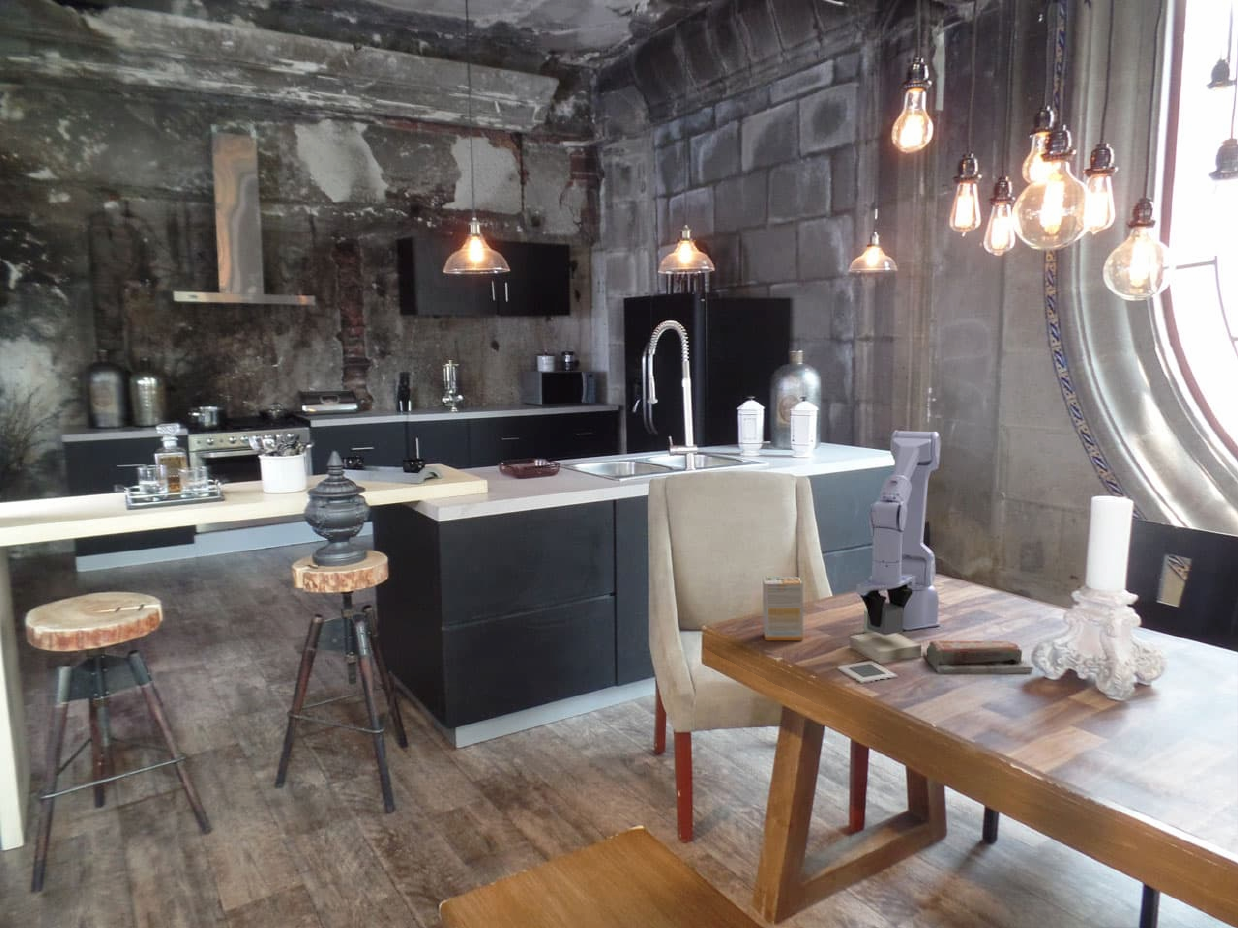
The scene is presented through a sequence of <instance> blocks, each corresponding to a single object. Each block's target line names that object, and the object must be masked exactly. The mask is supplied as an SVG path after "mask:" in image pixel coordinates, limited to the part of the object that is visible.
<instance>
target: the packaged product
mask: <svg viewBox="0 0 1238 928" xmlns="http://www.w3.org/2000/svg"><path fill="white" fill-rule="evenodd" d="M922 655H923V657H924V658H925V660H927V662H928V663H929V664H930V665H931V666H932V667H933V669H934V670H936V672H937V673H938V674H1030V673H1032V672H1033V669H1034V667H1033V666H1032V665H1031V664H1029V663H1028V662H1026V661H1025V660H1023V659H1022V658H1023V657H1022V655H1023V651H1022V649H1021V648H1020V647H1019V645H1018V644H1017V643H1015V642H1010V641H1007V640H957V639H956V640H931V641H930V642H929V645H928V647H927V648H926V651H923V652H922Z"/></svg>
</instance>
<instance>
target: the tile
mask: <svg viewBox="0 0 1238 928" xmlns="http://www.w3.org/2000/svg"><path fill="white" fill-rule="evenodd" d="M837 669H838V670H840V671H841V672H842V673H844V674H846V675H847V676H849V677H850V678H852V679H854V678H855V679H856V680H855V679H854V680H855V681H857V682H858V681H859V682H858V683H860V684H865V682H866V683H870V682H871V681H872V682H876V681H875V680H878V681H881V680H880V679H884V680H888V679H887V678H890V679H895V678H897V677H898V675H897V674H896V673H894V672H892V671H890V670H889V669H887V668H885V667H884V666H882V665H881V664H879V663H877V662H875V661H873V660H869V661H864V662H858V663H851V664H845V665H840V666H837ZM872 682H871V683H872Z"/></svg>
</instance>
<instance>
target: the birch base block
mask: <svg viewBox="0 0 1238 928" xmlns="http://www.w3.org/2000/svg"><path fill="white" fill-rule="evenodd" d="M849 638H850V645H849V646H850V647H849V648H850V649H851V650H853V649H854V650H853V651H855V652H856V653H858V654H860V653H861V654H860V655H862V656H864V657H866V658H868V659H870V661H873V662H875V663H876V664H878V665H882V664H883V665H884V664H890V663H895V662H899V661H900V662H901V661H906V660H911V659H912V658H913V659H917V658H918V657H919V658H921V657H922V645H921V644H920V643H918V642H916V641H915V640H914V641H913V640H912V639H909V638H908V637H906V636H904V635H901V634H899V633H894V634H890V635H886V636H884V635H882V634H879V633H877V632H874V633H868V634H867V633H862V634H856V635H850V637H849ZM919 658H918V659H919Z"/></svg>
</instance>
